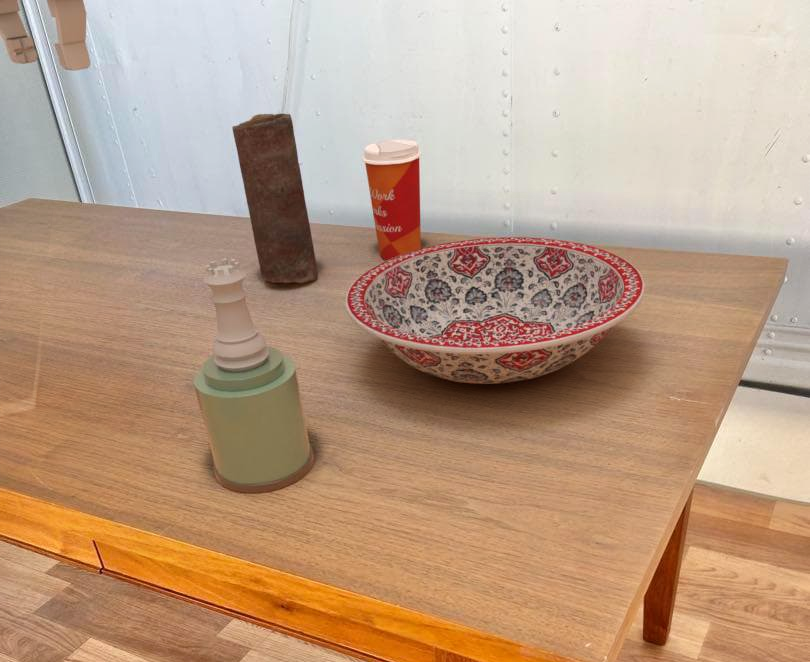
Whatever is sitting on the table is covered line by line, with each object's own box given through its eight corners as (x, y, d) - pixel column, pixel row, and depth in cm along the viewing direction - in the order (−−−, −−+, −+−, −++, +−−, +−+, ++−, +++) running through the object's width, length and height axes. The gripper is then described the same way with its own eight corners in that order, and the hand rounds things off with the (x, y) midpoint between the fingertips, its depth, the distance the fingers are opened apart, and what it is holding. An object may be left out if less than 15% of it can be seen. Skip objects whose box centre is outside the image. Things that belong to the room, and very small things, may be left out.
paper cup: (364, 252, 118) (352, 145, 110) (414, 241, 120) (406, 135, 112) (385, 268, 113) (374, 156, 104) (437, 256, 115) (431, 145, 106)
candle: (282, 296, 108) (251, 125, 96) (250, 283, 112) (218, 119, 100) (329, 278, 112) (306, 111, 99) (297, 266, 116) (271, 106, 104)
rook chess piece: (225, 350, 71) (203, 255, 66) (276, 349, 70) (258, 253, 66) (208, 374, 68) (184, 276, 63) (261, 373, 67) (241, 274, 62)
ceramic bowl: (306, 411, 82) (293, 334, 78) (413, 298, 103) (408, 231, 99) (607, 448, 72) (613, 362, 68) (658, 315, 94) (665, 242, 89)
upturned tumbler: (221, 502, 71) (194, 395, 65) (209, 452, 78) (183, 351, 72) (323, 478, 72) (305, 372, 66) (303, 431, 79) (285, 331, 73)
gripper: (95, -179, 54) (151, 66, 62) (-26, -148, 66) (34, 53, 75) (0, -177, 51) (72, 81, 59) (-109, -144, 63) (-37, 65, 72)
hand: (50, 65), depth 67 cm, fingers open, 8 cm apart
